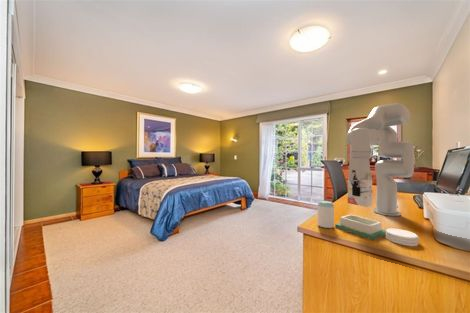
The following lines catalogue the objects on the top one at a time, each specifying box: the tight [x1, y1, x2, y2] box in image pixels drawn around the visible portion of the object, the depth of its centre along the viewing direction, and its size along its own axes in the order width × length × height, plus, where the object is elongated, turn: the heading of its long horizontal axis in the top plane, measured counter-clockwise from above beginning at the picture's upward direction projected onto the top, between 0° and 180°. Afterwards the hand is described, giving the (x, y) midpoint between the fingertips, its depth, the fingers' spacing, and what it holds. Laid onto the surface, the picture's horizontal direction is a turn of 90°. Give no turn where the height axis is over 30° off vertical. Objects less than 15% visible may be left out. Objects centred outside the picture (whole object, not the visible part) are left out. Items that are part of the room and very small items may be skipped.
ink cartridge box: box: [347, 172, 373, 208], centre depth 88 cm, size 9×5×15 cm, turn 34°
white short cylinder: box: [385, 227, 419, 247], centre depth 78 cm, size 10×10×4 cm
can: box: [317, 200, 335, 229], centre depth 93 cm, size 7×7×12 cm
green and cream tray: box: [334, 214, 387, 241], centre depth 88 cm, size 12×16×5 cm
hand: (359, 194), depth 88 cm, fingers closed on ink cartridge box, 5 cm apart
